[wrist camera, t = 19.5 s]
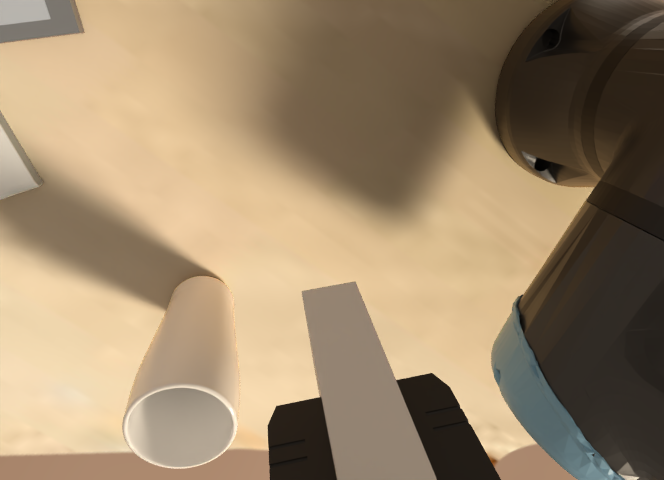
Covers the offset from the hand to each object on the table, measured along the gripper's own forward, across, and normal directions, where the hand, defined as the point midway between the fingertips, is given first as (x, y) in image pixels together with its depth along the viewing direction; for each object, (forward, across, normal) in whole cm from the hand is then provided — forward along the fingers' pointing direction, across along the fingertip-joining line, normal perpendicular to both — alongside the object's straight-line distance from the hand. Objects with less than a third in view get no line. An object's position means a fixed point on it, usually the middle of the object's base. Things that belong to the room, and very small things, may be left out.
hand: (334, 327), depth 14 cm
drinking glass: (+27, +9, +13) cm, 31 cm away
